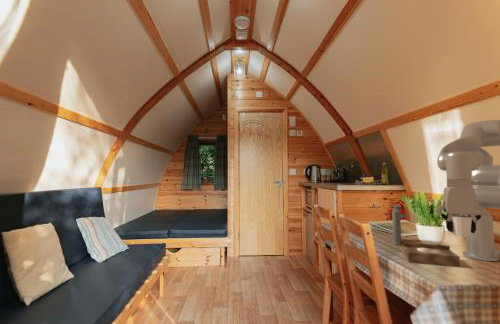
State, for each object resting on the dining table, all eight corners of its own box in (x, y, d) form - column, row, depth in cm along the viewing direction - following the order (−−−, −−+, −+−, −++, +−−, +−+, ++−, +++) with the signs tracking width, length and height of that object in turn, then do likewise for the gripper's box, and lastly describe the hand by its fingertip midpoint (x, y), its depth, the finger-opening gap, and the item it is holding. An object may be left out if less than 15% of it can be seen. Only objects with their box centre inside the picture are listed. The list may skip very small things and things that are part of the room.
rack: (449, 258, 121) (448, 245, 121) (459, 266, 110) (459, 252, 110) (402, 254, 127) (402, 242, 127) (408, 262, 116) (408, 248, 116)
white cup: (477, 237, 100) (476, 217, 100) (455, 236, 101) (455, 217, 102) (466, 232, 107) (465, 214, 107) (446, 232, 108) (445, 214, 108)
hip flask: (393, 238, 160) (392, 204, 161) (401, 239, 158) (400, 204, 159) (392, 244, 146) (392, 206, 147) (401, 245, 144) (400, 207, 145)
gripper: (482, 183, 105) (484, 231, 105) (429, 183, 111) (431, 228, 110) (492, 184, 98) (494, 235, 98) (435, 184, 104) (437, 232, 103)
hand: (461, 231), depth 104 cm, fingers closed on white cup, 6 cm apart
